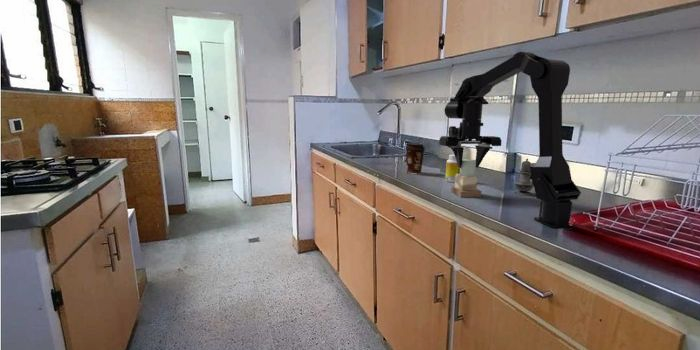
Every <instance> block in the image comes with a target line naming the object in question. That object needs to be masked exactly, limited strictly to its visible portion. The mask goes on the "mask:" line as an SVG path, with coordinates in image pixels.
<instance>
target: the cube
mask: <svg viewBox="0 0 700 350" xmlns="http://www.w3.org/2000/svg"><path fill="white" fill-rule="evenodd" d="M477 185H478V175H475V176H474V177H464V176H460V174H456V178H455V182H454V187H455V188H458V189H460V190H462V191H468V190H476V189H478V188H477V187H478V186H477Z"/></svg>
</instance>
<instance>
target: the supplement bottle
mask: <svg viewBox="0 0 700 350" xmlns="http://www.w3.org/2000/svg"><path fill="white" fill-rule="evenodd" d="M445 167H446V168H445V181H446V182H449V183H450V182H451V183H455V178H456V174H460V168H458V165H457V161H456V158H455V155H454V154H449V155H448V159H447V160H446V164H445Z"/></svg>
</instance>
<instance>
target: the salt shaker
mask: <svg viewBox="0 0 700 350" xmlns="http://www.w3.org/2000/svg"><path fill="white" fill-rule="evenodd" d="M531 163H532V162H531V161H529V158H526V159H525V160H524V161H522V163H521V168H520V170H519V174H520V175H519V180H517V181H514V184H515V188H516V189H517V190H516V191H514V194H515V195H519V196H525V197H526V196H533V193H532V192H530V191H531V190H532V189H533V188H534V186H533V184H532V180H531V179H529V178H530V175H531V171H530V164H531Z"/></svg>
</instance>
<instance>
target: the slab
mask: <svg viewBox="0 0 700 350" xmlns="http://www.w3.org/2000/svg"><path fill="white" fill-rule="evenodd" d="M450 193H452V194H454V195H455V196H457V197H460V198H481V197H482V193H483V192H482V190H480V189H479V188H477V189H476V190H468V191H462V190H460V189H458V188H455V186H451V190H450Z"/></svg>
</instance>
